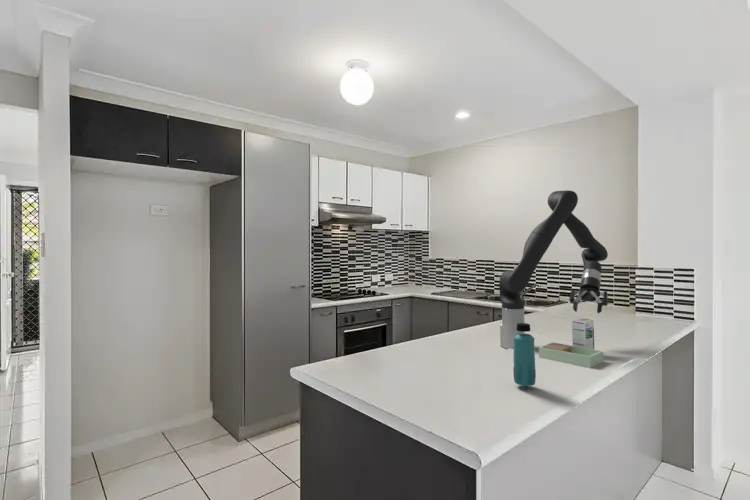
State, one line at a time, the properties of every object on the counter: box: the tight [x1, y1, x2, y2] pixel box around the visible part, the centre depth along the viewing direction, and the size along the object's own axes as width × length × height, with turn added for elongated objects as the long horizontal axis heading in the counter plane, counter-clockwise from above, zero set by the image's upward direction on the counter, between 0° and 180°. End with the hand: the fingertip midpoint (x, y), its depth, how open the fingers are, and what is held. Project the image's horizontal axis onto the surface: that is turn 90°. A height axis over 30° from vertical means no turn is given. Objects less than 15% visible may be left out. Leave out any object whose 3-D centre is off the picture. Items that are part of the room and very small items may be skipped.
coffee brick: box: [544, 343, 571, 353], centre depth 160 cm, size 7×8×4 cm
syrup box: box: [571, 318, 595, 350], centre depth 163 cm, size 6×6×14 cm
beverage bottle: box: [512, 322, 537, 387], centre depth 128 cm, size 6×7×20 cm
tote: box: [538, 342, 604, 369], centre depth 156 cm, size 19×11×5 cm, turn 39°
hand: (586, 311), depth 171 cm, fingers open, 8 cm apart
